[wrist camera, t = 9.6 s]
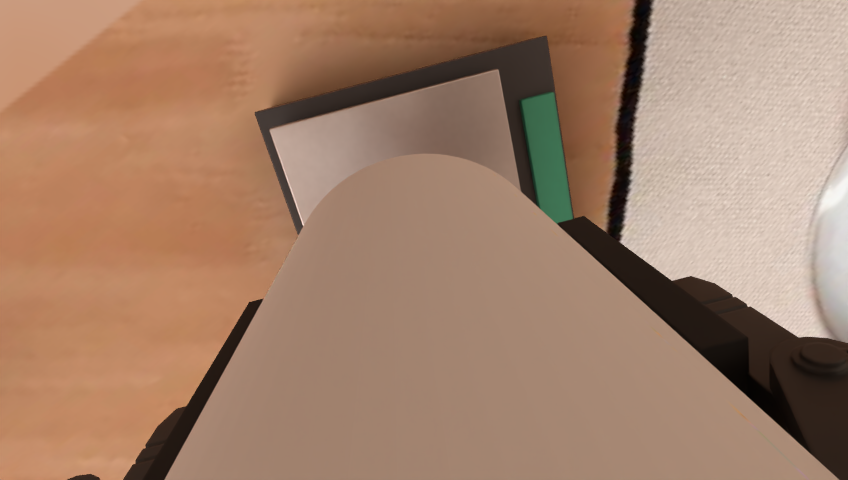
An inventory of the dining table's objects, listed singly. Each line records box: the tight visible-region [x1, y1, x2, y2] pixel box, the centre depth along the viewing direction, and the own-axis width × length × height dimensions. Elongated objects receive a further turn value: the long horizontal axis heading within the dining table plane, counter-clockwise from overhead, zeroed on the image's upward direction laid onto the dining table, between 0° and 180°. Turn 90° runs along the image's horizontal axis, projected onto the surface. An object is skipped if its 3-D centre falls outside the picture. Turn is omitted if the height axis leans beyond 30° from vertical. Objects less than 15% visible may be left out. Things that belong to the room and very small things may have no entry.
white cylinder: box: [165, 154, 839, 480], centre depth 9 cm, size 8×8×12 cm
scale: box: [255, 36, 574, 235], centre depth 26 cm, size 12×14×3 cm
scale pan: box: [269, 69, 521, 226], centre depth 23 cm, size 10×10×1 cm
